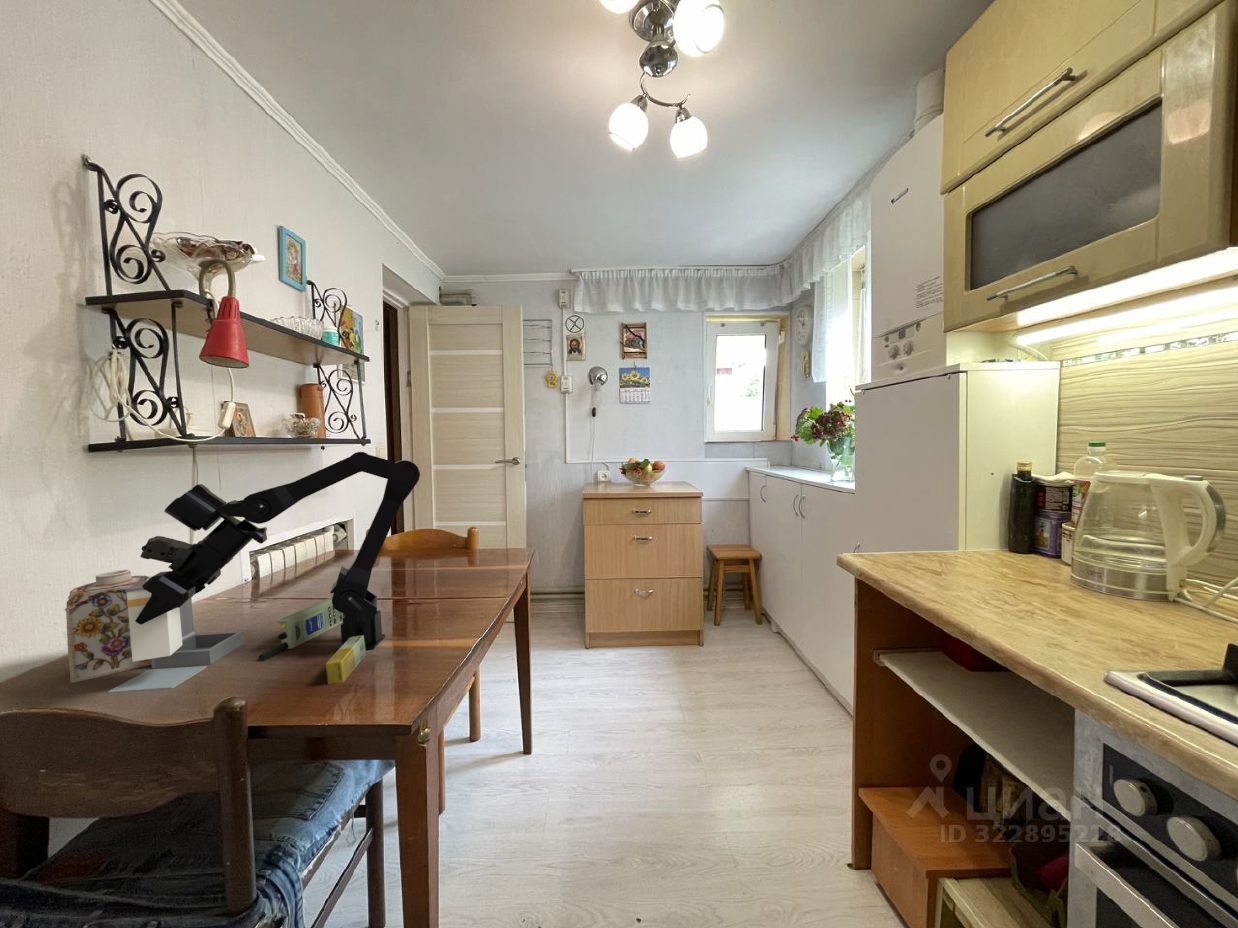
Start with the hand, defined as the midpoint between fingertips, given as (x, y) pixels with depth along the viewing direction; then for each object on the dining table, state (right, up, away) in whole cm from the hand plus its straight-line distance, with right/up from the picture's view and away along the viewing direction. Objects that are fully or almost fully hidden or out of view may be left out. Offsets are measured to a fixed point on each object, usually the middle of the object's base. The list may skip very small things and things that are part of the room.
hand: (145, 617), depth 85 cm
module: (+2, -7, +1) cm, 7 cm away
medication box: (+33, -11, +4) cm, 35 cm away
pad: (+2, -12, +1) cm, 12 cm away
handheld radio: (+17, -11, +20) cm, 28 cm away
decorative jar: (-13, -12, +9) cm, 20 cm away
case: (+1, -11, +11) cm, 16 cm away
